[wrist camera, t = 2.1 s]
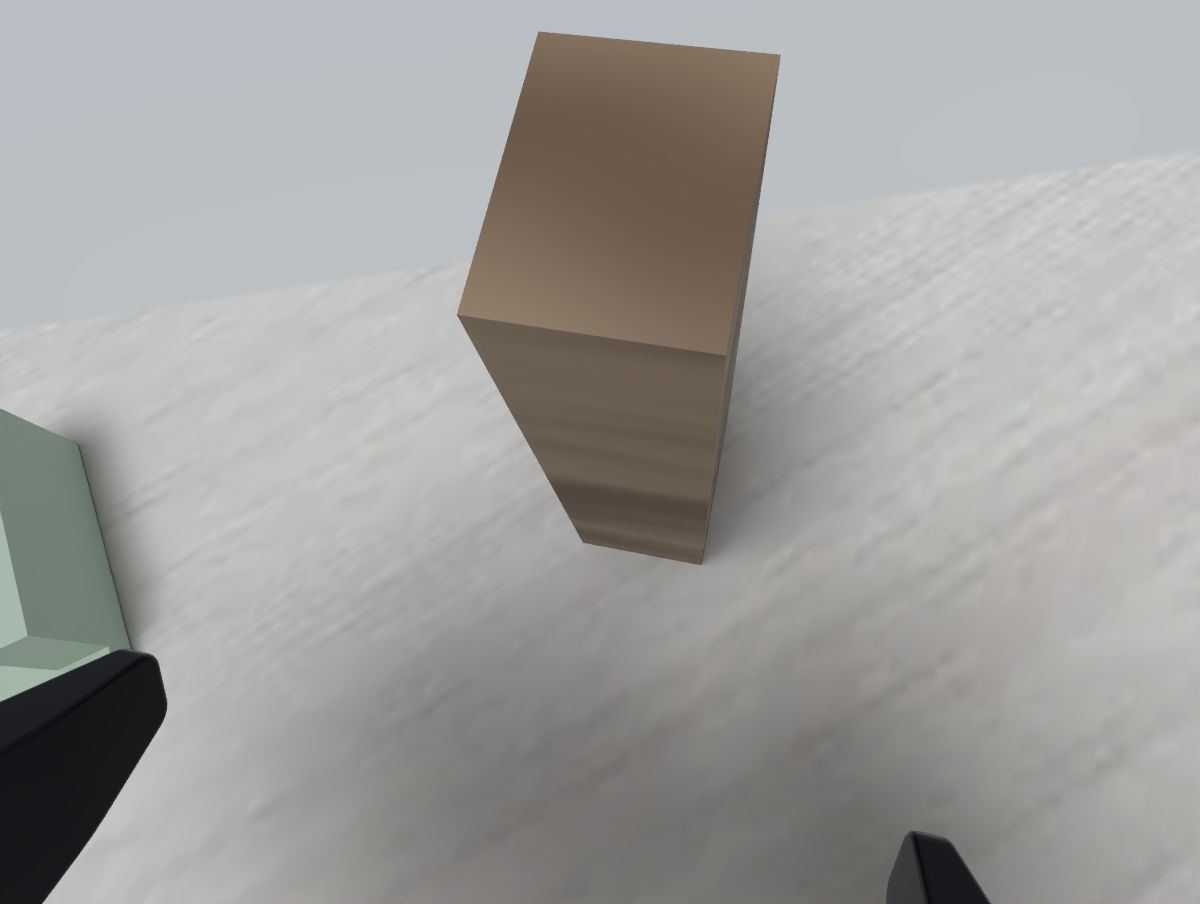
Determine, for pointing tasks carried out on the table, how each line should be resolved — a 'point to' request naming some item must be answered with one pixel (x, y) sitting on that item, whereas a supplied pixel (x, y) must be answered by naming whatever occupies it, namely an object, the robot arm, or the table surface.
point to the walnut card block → (624, 275)
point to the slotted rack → (50, 562)
